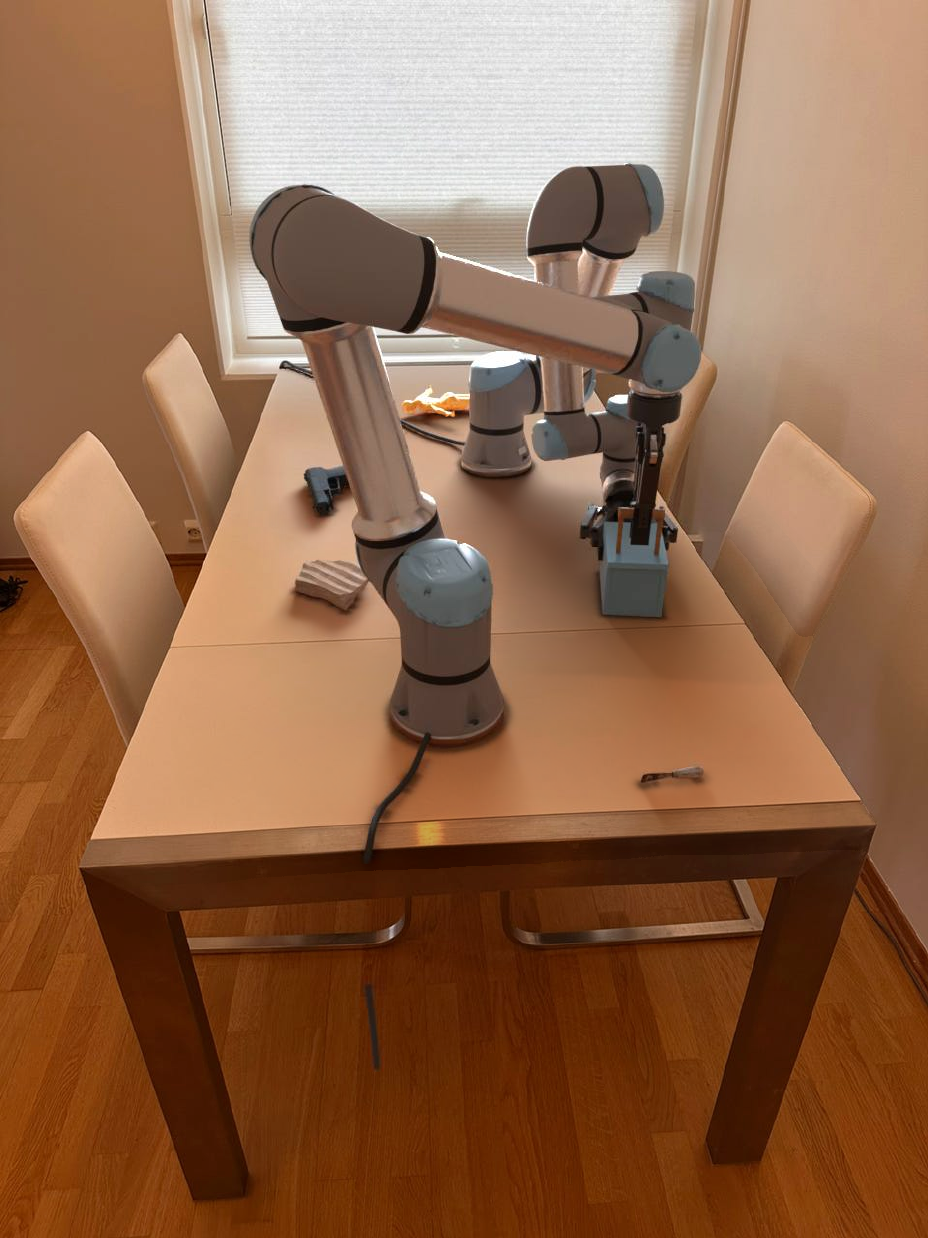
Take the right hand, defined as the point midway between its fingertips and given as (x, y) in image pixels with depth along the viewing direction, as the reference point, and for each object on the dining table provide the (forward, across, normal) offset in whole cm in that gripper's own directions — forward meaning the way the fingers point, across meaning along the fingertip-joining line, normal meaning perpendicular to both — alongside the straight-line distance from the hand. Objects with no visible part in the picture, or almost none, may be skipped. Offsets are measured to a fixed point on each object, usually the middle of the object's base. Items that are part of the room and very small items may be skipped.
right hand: (631, 554), depth 147 cm
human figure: (-86, +39, -6) cm, 95 cm away
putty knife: (+48, -2, -6) cm, 48 cm away
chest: (+3, 0, -6) cm, 7 cm away
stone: (+6, +49, -6) cm, 50 cm away
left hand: (+7, 0, +6) cm, 9 cm away
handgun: (-32, +57, -6) cm, 66 cm away
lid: (+3, 0, +3) cm, 4 cm away
